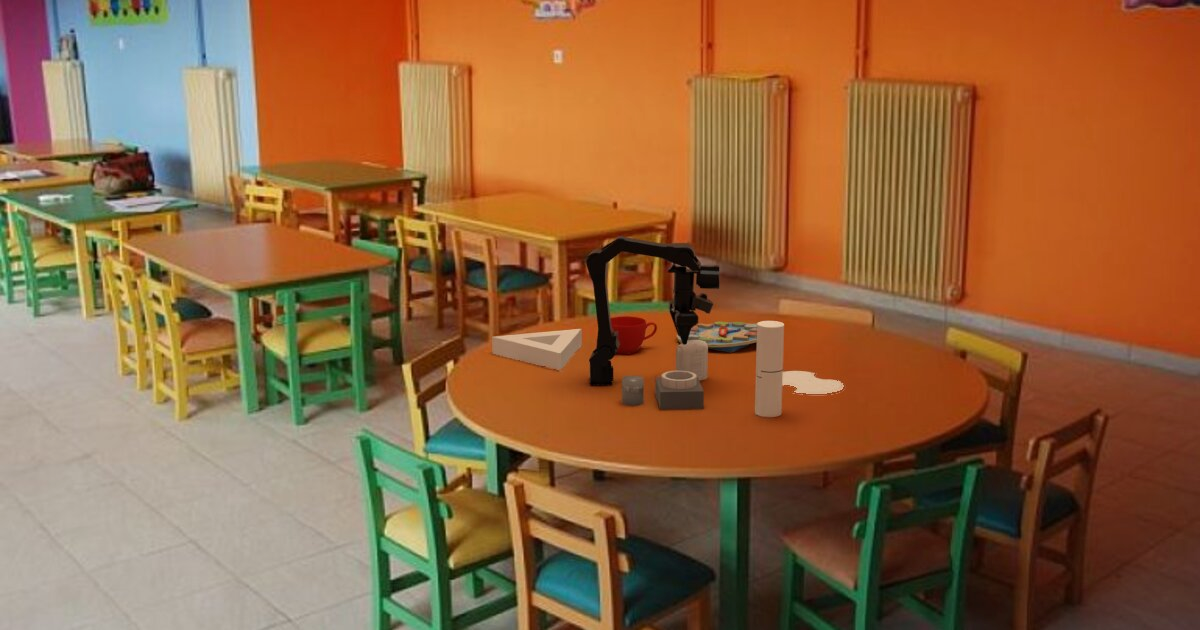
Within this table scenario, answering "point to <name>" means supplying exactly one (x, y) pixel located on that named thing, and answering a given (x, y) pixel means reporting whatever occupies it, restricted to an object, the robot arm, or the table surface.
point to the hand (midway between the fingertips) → (682, 340)
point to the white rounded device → (693, 358)
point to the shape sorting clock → (724, 335)
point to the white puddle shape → (810, 383)
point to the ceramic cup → (630, 332)
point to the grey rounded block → (632, 390)
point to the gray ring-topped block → (679, 391)
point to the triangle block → (540, 347)
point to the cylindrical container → (769, 368)
